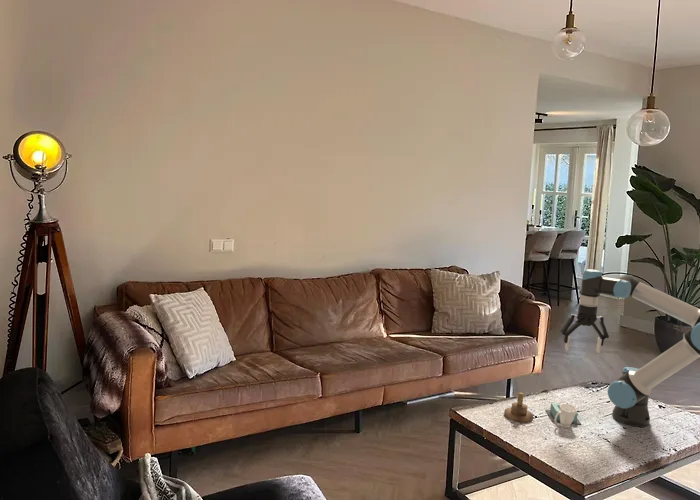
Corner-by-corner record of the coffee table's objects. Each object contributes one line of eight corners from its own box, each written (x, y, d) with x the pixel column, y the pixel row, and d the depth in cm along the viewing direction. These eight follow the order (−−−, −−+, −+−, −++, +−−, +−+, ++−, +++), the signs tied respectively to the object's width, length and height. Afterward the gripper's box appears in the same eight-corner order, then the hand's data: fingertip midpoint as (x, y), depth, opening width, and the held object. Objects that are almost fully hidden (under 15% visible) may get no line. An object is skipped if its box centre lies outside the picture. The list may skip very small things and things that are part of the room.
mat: (572, 413, 264) (572, 412, 264) (581, 424, 252) (581, 423, 252) (545, 410, 265) (545, 409, 264) (552, 422, 253) (552, 421, 253)
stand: (529, 411, 262) (531, 389, 260) (535, 423, 250) (538, 400, 249) (501, 409, 263) (504, 387, 261) (507, 421, 251) (509, 397, 249)
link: (576, 421, 254) (577, 413, 253) (555, 420, 254) (556, 411, 253) (570, 413, 262) (571, 404, 262) (549, 411, 263) (551, 402, 262)
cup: (577, 427, 249) (580, 410, 247) (559, 431, 245) (562, 415, 243) (565, 418, 255) (568, 402, 253) (547, 422, 251) (550, 406, 249)
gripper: (614, 304, 260) (607, 350, 263) (557, 300, 262) (551, 346, 265) (620, 309, 253) (614, 356, 256) (561, 304, 254) (555, 351, 257)
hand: (582, 351), depth 260 cm, fingers open, 13 cm apart
